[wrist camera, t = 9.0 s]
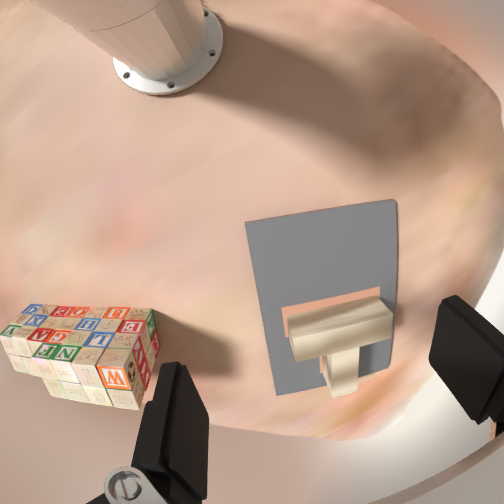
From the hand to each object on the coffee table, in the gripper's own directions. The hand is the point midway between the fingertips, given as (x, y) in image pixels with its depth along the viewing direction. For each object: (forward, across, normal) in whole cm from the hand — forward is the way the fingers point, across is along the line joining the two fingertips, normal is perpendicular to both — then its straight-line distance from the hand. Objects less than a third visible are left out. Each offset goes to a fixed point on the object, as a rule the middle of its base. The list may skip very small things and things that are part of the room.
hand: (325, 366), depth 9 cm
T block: (+22, -7, +19) cm, 30 cm away
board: (+24, -7, +14) cm, 28 cm away
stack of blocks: (+24, +26, +11) cm, 37 cm away
